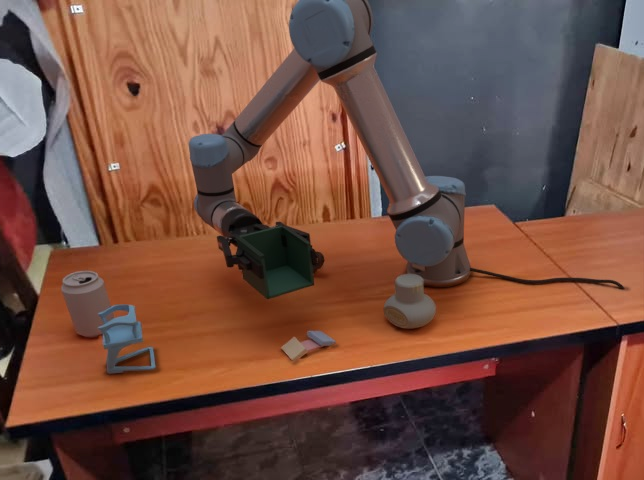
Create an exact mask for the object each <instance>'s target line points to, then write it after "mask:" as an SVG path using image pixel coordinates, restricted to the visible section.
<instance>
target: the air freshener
mask: <svg viewBox="0 0 644 480" xmlns="http://www.w3.org/2000/svg"><path fill="white" fill-rule="evenodd" d="M436 312H437V306H436V303H435V302H434V300H433V299H432V298H431V297H430V296H429V295H427V294H426V293H425V286H424V280H423V278H422V277H421V276H419V275H416V274H407V273H404V274H400V275H398V276H396V278H395V280H394V294H392V295H391V296H389V297H388V299H386V301H385V302H384V305H383V314H384V316H385V318H386V319H387V320H388V321H389V322H390V323H391V324H392V325H393V326H396V327H398V328H401V329H408V330H409V329H410V330H411V329H419V328H422V327H424V326H426V325H428V324H429V323H430V322H431V321H432V320H433V319H434V318H435V316H436V314H437V313H436Z"/></svg>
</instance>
